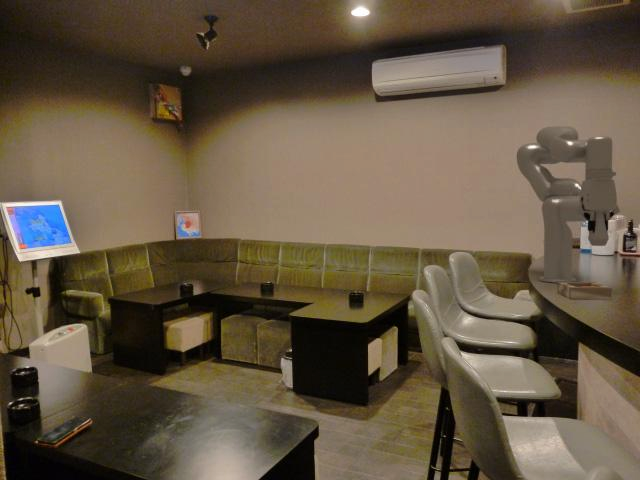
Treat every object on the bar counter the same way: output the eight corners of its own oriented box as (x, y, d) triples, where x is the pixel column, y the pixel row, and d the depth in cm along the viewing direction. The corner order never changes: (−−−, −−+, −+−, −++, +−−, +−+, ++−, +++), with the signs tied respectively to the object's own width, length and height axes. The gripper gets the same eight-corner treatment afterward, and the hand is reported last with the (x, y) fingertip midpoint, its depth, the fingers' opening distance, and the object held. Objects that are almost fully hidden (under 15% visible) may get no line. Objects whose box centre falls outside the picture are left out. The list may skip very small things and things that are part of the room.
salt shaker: (603, 244, 167) (603, 205, 166) (612, 245, 161) (612, 204, 160) (584, 245, 167) (585, 205, 166) (593, 246, 161) (593, 205, 161)
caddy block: (557, 292, 164) (557, 281, 164) (594, 292, 163) (594, 281, 163) (571, 299, 153) (572, 287, 153) (611, 299, 152) (611, 287, 151)
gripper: (618, 176, 166) (617, 232, 167) (567, 177, 167) (566, 232, 168) (631, 174, 158) (630, 233, 159) (577, 175, 160) (576, 233, 160)
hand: (597, 232), depth 164 cm, fingers closed on salt shaker, 3 cm apart
